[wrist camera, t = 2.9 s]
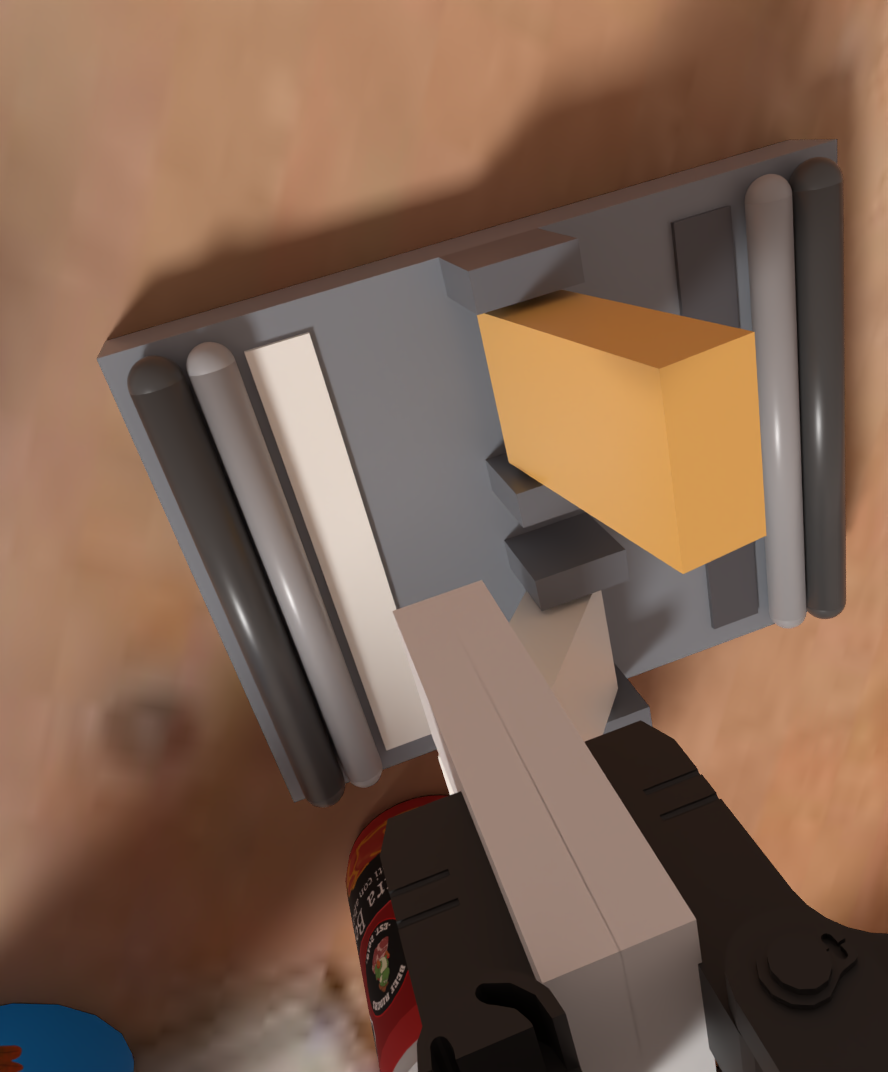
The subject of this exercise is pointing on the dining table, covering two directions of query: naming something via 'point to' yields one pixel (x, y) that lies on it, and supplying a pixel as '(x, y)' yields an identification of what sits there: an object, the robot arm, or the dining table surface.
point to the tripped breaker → (634, 419)
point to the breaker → (570, 658)
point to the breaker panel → (482, 450)
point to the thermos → (59, 1041)
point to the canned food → (383, 948)
